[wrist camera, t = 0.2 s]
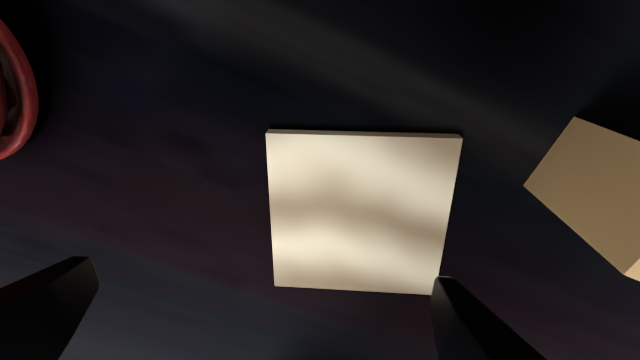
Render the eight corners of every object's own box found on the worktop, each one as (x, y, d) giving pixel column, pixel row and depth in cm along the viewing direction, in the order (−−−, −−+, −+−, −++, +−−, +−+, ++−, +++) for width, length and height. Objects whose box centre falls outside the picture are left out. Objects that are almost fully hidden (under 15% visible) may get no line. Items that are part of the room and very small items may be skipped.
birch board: (431, 285, 26) (434, 295, 25) (277, 277, 27) (274, 285, 26) (457, 134, 21) (462, 138, 21) (269, 129, 22) (265, 133, 21)
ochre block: (588, 213, 23) (721, 315, 15) (523, 185, 23) (623, 274, 14) (644, 148, 21) (835, 224, 13) (574, 116, 21) (724, 173, 12)
